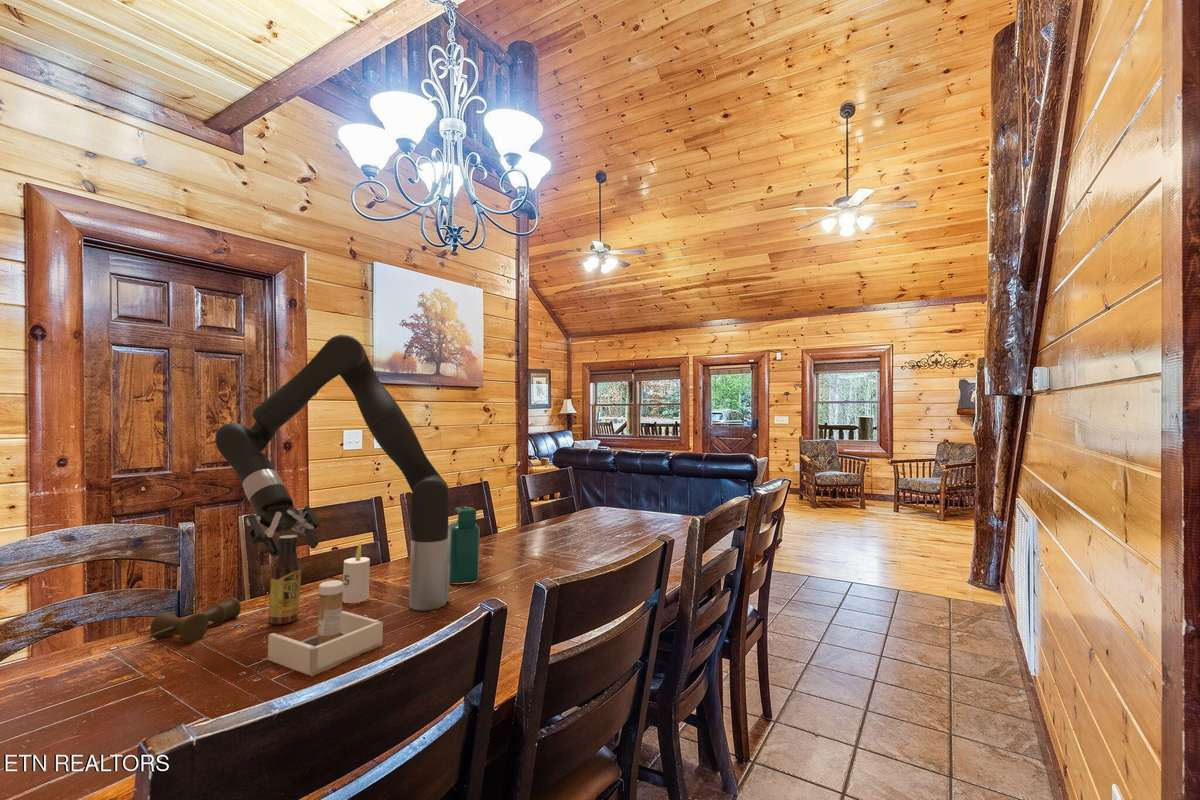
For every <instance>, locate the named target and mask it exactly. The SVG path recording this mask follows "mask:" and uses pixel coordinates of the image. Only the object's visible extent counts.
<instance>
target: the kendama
mask: <svg viewBox="0 0 1200 800" xmlns="http://www.w3.org/2000/svg"><path fill="white" fill-rule="evenodd" d="M241 609H242V607H241V603H240V600H238V599H237V598H236V597H232V596H231V597H227V598H226V599H224V600H223V602H222V603H214V604H213V603H212V605H210V606H209V608H208V609H207V610H205V611H204V612H198V613H193V614H191V615H189V616H187V617H186V618H184V617H183V618H182V617H178V616H177V614H176V613H175V612H173V611H164V612H161V613H160V614H157V615H156V616H155V617H154V618H153V620H152V622H151V624H150V629H149V631H150V635H148V639H157V640H161V639H165V638H168V637H170V636H172V635H175V636H176V635H177V636H179V637H180V639H181V640H182V641H183V642H184V643H186V644H192V643H195V642H197V641H199V640H201V639H202V638H203V637H204V636H205V635H206V633H207V630H208V627H209V622H212V623H214V624H216V623H220V622H222V621H223V620H224V619H229V620H230V619H233V620H234V619H236V618H238V616H240V613H241ZM194 641H195V642H194ZM191 642H192V643H191Z"/></svg>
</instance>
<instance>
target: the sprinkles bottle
mask: <svg viewBox="0 0 1200 800" xmlns="http://www.w3.org/2000/svg"><path fill="white" fill-rule="evenodd" d="M318 594H319V595H318V596H319V598H318V599H319V603H318V604H319V606H318V618H317V619H318V620H317V635H318V645H320V644H322V643H325V642H327V641H330V640H333V639H335V638H338V637H340V631H341V618H342V611H343V610H342V609H343V580H338V579H337V580H336V579H334V580H333V579H332V580H327V581H323V582H321V583H320V584H319V586H318Z"/></svg>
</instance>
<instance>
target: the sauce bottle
mask: <svg viewBox="0 0 1200 800" xmlns="http://www.w3.org/2000/svg"><path fill="white" fill-rule="evenodd" d="M298 542H299V536H298V535H297V534H288V535H287V534H286V535H280V536H279V537H278V541H277V543H278V545H279V547H280V549H281V553H280V554H279V556H278V557H276V560H275V561H274V563H273V564H272V567H271V577H270V584H269V586H270V588H269V589H270V590H269V605H268V616H269V618H268V623H270V624H271V625H276V626H279V625H285V624H290V623H293V622H295V621H296V620H297V619H298V618H299V612H300V599H301V598H300V597H301V596H300V594H301V585H302V584H301V582H302V580H301V579H302V568H301V565H300V562H299V558H298V555H297V548H298V547H297V546H298Z"/></svg>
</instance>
